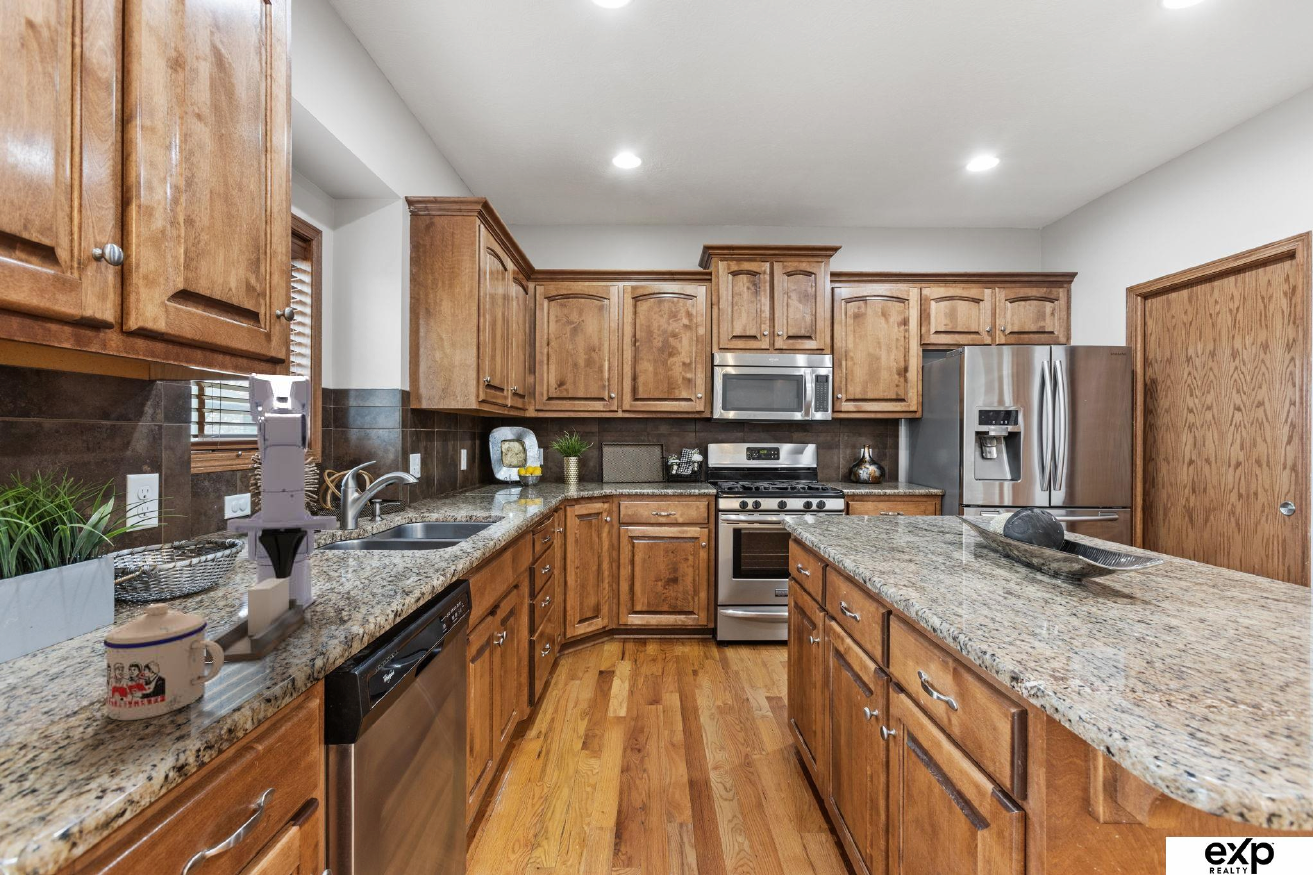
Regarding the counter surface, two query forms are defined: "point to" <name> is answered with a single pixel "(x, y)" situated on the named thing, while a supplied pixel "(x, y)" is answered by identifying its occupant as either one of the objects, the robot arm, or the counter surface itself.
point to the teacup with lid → (157, 663)
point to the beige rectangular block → (267, 603)
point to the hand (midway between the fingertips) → (283, 577)
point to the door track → (257, 636)
